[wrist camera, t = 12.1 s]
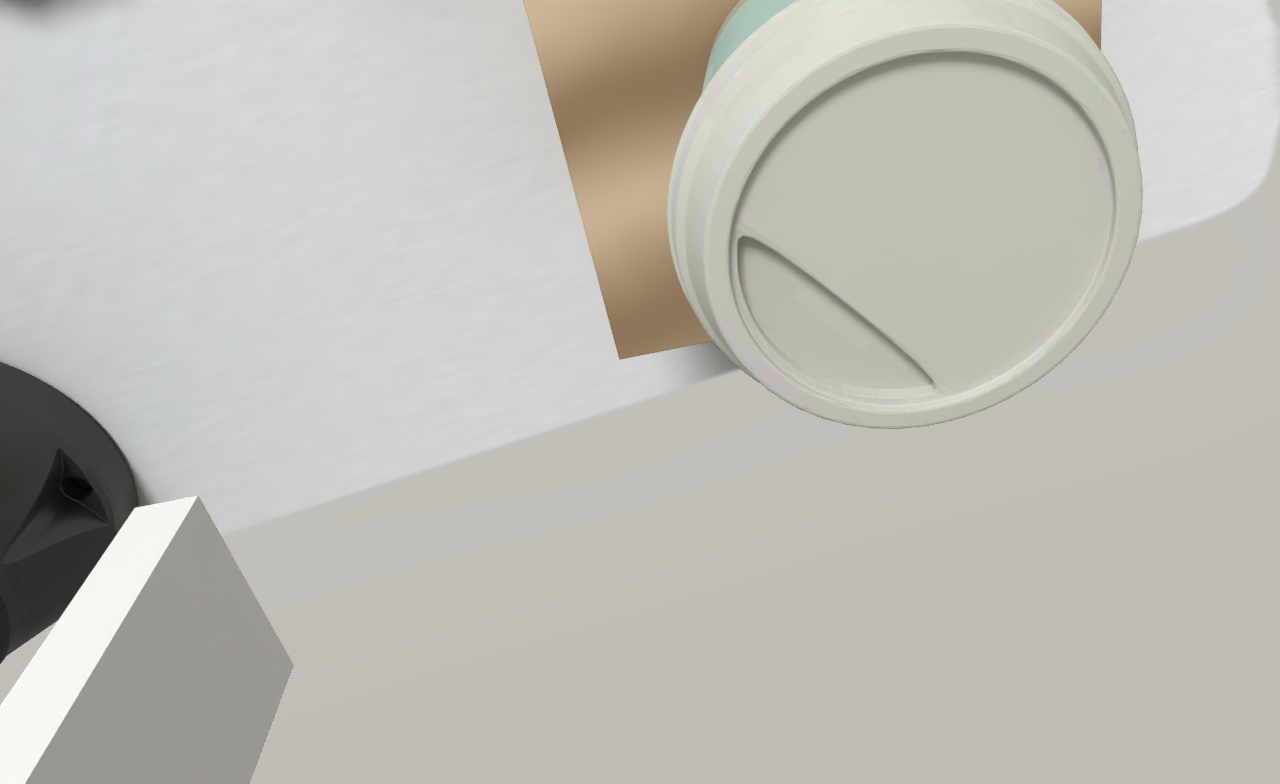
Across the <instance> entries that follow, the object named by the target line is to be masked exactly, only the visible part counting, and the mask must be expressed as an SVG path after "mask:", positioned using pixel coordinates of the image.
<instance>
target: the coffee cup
mask: <svg viewBox="0 0 1280 784" xmlns="http://www.w3.org/2000/svg"><path fill="white" fill-rule="evenodd" d="M1142 194H1143V191H1142V175H1141V168H1140V162H1139V156H1138V146H1137V139H1136V132H1135V126H1134V121H1133V117H1132V114H1131V110H1130V107H1129V103H1128V101H1127V98H1126V96H1125V93H1124V91H1123V89H1122V86H1121V84H1120V82H1119V80H1118V78H1117V76H1116V74H1115V72H1114V70H1113V69H1112V67H1111V65H1110V64H1109V63H1108V61H1107V60H1106V58H1105V57H1104V55H1103V54H1102V52H1101V51H1100V50H1099V48H1098V47H1097V45H1096V44H1095V42H1094V41H1093V40H1092V38H1091V37H1090V36H1089V35H1088V33H1087V32H1086V31H1085V30H1084V29H1083V28H1082V26H1081V25H1080V24H1079V23H1078V22H1077V21H1076V20H1075V19H1074V18H1073V17H1072V16H1071V15H1070V14H1068V13H1067V12H1066V11H1065V10H1064V9H1063V8H1061V7H1060V6H1059V5H1058V4H1056V3H1055V2H1054V1H1052V0H740V1H739V2H738V3H737V4H736V5H735V7H734V8H733V9H732V10H731V12H730V13H729V14H728V16H727V17H726V19H725V21H724V22H723V24H722V26H721V28H720V29H719V31H718V34H717V36H716V38H715V41H714V43H713V46H712V50H711V53H710V57H709V62H708V66H707V70H706V75H705V80H704V85H703V90H702V95H701V96H700V98H699V100H698V102H697V103H696V105H695V107H694V109H693V111H692V113H691V115H690V117H689V119H688V121H687V124H686V126H685V128H684V131H683V133H682V136H681V139H680V142H679V145H678V148H677V151H676V155H675V158H674V162H673V166H672V171H671V176H670V183H669V191H668V204H667V222H668V235H669V243H670V249H671V254H672V258H673V262H674V266H675V269H676V272H677V276H678V278H679V281H680V284H681V286H682V289H683V291H684V293H685V295H686V297H687V299H688V301H689V303H690V305H691V307H692V308H693V310H694V312H695V314H696V316H697V317H698V319H699V321H700V322H701V324H702V326H703V327H704V329H705V330H706V332H707V333H708V335H709V336H710V338H711V339H712V340H713V341H714V342H715V344H716V345H717V346H718V347H719V349H720V350H721V351H722V352H723V353H724V354H725V355H726V356H727V357H728V358H729V359H730V360H731V361H732V362H733V363H734V364H736V365H737V366H738V367H739V368H740V369H741V370H743V371H744V372H745V373H746V374H748V375H749V376H751V377H752V378H753V379H755V380H756V381H758V382H759V383H761V384H762V385H763V386H765V387H766V388H767V389H768V390H769V391H771V392H772V393H774V394H775V395H777V396H778V397H780V398H781V399H783V400H784V401H786V402H788V403H790V404H792V405H793V406H795V407H797V408H799V409H801V410H803V411H806V412H808V413H811V414H813V415H816V416H818V417H821V418H824V419H828V420H831V421H835V422H839V423H843V424H847V425H853V426H861V427H868V428H888V429H889V428H890V429H891V428H892V429H898V428H899V429H900V428H910V427H921V426H928V425H933V424H938V423H944V422H948V421H951V420H955V419H958V418H962V417H965V416H968V415H971V414H974V413H977V412H979V411H982V410H985V409H987V408H989V407H992V406H993V405H996V404H998V403H1000V402H1002V401H1004V400H1006V399H1009V398H1010V397H1012V396H1014V395H1016V394H1017V393H1019V392H1020V391H1022V390H1024V389H1025V388H1027V387H1029V386H1030V385H1032V384H1033V383H1035V382H1036V381H1038V380H1039V379H1040V378H1042V377H1043V376H1045V375H1046V374H1047V373H1049V371H1051V370H1052V369H1053V368H1054V367H1056V366H1057V365H1058V364H1059V363H1061V362H1062V361H1063V360H1064V359H1065V358H1066V357H1067V356H1068V355H1069V354H1070V353H1071V352H1072V351H1073V350H1074V349H1075V348H1076V347H1077V346H1078V345H1079V344H1080V343H1081V342H1082V341H1083V340H1084V339H1085V337H1086V336H1087V335H1088V334H1089V333H1090V331H1091V330H1092V329H1093V328H1094V327H1095V325H1096V324H1097V323H1098V321H1099V320H1100V318H1101V317H1102V315H1103V314H1104V312H1105V311H1106V309H1107V308H1108V307H1109V305H1110V304H1111V302H1112V300H1113V298H1114V296H1115V294H1116V293H1117V291H1118V289H1119V287H1120V285H1121V283H1122V281H1123V279H1124V276H1125V273H1126V271H1127V269H1128V267H1129V264H1130V262H1131V258H1132V255H1133V252H1134V248H1135V245H1136V242H1137V238H1138V233H1139V226H1140V220H1141V214H1142Z"/></svg>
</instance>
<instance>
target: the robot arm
mask: <svg viewBox="0 0 1280 784" xmlns="http://www.w3.org/2000/svg"><path fill="white" fill-rule="evenodd" d="M57 620H58V621H57ZM56 621H57V623H56V624H55V626H54V627H53V629H52V630H51V632H50V633H49V635H48V636H47V638H46V639H45V641H44V642H43V644H42V645H41V646H40V648H39V649H38V651H37V653H36V654H35V655H34V657H33V658H32V660H31V661H30V663H29V664H28V666H27V667H26V669H25V670H24V671H23V673H22V674H21V676H20V677H19V679H18V680H17V682H16V683H15V685H14V686H13V688H12V689H11V691H10V692H9V693H8V695H7V696H6V698H5V699H4V701H3V702H2V704H1V705H0V784H249V783H250V780H251V777H252V775H253V772H254V770H255V766H256V764H257V761H258V759H259V756H260V753H261V751H262V748H263V745H264V743H265V740H266V737H267V735H268V732H269V729H270V727H271V724H272V721H273V719H274V716H275V713H276V711H277V708H278V705H279V702H280V700H281V697H282V694H283V692H284V689H285V686H286V684H287V681H288V678H289V676H290V673H291V670H292V668H293V663H292V661H291V660H290V658H289V656H288V654H287V652H286V651H285V649H284V647H283V645H282V643H281V642H280V640H279V638H278V636H277V635H276V633H275V631H274V629H273V628H272V626H271V624H270V622H269V621H268V619H267V617H266V615H265V613H264V612H263V610H262V608H261V606H260V604H259V603H258V601H257V599H256V598H255V596H254V594H253V592H252V590H251V588H250V587H249V585H248V583H247V581H246V580H245V578H244V576H243V574H242V572H241V571H240V569H239V568H238V565H237V564H236V562H235V560H234V558H233V556H232V555H231V553H230V551H229V549H228V548H227V546H226V544H225V542H224V540H223V539H222V537H221V535H220V533H219V532H218V530H217V528H216V526H215V524H214V523H213V521H212V519H211V517H210V516H209V514H208V512H207V510H206V509H205V507H204V505H203V503H202V501H201V500H200V498H199V496H193V497H188V498H183V499H178V500H173V501H167V502H162V503H157V504H152V505H146V506H141V507H138V503H137V496H136V491H135V487H134V484H133V481H132V478H131V475H130V473H129V470H128V468H127V466H126V464H125V462H124V460H123V458H122V456H121V455H120V453H119V452H118V450H117V448H116V447H115V445H114V444H113V443H112V441H111V440H110V439H109V437H108V436H107V435H106V434H105V432H104V431H103V430H102V429H101V428H100V427H99V426H98V425H97V423H96V422H95V421H94V420H93V419H92V418H91V417H90V416H88V415H87V414H86V413H85V412H84V411H83V410H82V409H81V408H80V407H78V406H77V405H76V404H75V403H73V402H72V401H71V400H70V399H68V398H67V397H66V396H64V395H63V394H61V393H60V392H58V391H57V390H55V389H54V388H52V387H51V386H49V385H47V384H46V383H44V382H42V381H41V380H39V379H37V378H35V377H33V376H31V375H29V374H27V373H25V372H23V371H21V370H19V369H16V368H14V367H12V366H9V365H7V364H4V363H1V362H0V664H1V662H2V661H3V660H4V659H5V657H6V656H7V655H8V654H10V653H11V652H13V651H14V650H15V649H17V648H18V647H20V646H21V645H23V644H24V643H26V642H27V641H29V640H30V639H31V638H33V637H34V636H36V635H37V634H39V633H40V632H41V631H43V630H44V629H46V628H47V627H48V626H50V625H52V624H53V623H54V622H56Z"/></svg>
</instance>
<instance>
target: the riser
mask: <svg viewBox="0 0 1280 784" xmlns="http://www.w3.org/2000/svg"><path fill="white" fill-rule="evenodd" d="M523 1H524V5H525V9H526V13H527V16H528V20H529V24H530V27H531V31H532V35H533V39H534V42H535V46H536V50H537V54H538V57H539V61H540V65H541V69H542V72H543V76H544V80H545V83H546V87H547V91H548V95H549V98H550V102H551V106H552V110H553V113H554V117H555V121H556V124H557V128H558V132H559V136H560V139H561V143H562V147H563V151H564V154H565V158H566V162H567V166H568V169H569V173H570V177H571V180H572V184H573V188H574V192H575V195H576V199H577V203H578V207H579V210H580V214H581V218H582V221H583V225H584V229H585V233H586V236H587V240H588V244H589V248H590V251H591V255H592V259H593V263H594V266H595V270H596V274H597V277H598V281H599V285H600V289H601V292H602V296H603V300H604V304H605V307H606V311H607V315H608V318H609V322H610V326H611V330H612V333H613V337H614V341H615V345H616V348H617V352H618V356H619V360H620V359H625V358H630V357H635V356H640V355H645V354H650V353H655V352H660V351H665V350H670V349H676V348H681V347H686V346H691V345H696V344H701V343H706V342H711V341H713V340H712V339H711V338H710V336H709V335H708V333H707V332H706V330H705V329H704V327H703V326H702V324H701V322H700V321H699V319H698V317H697V316H696V314H695V312H694V310H693V308H692V307H691V305H690V303H689V301H688V299H687V297H686V295H685V293H684V291H683V289H682V286H681V284H680V281H679V278H678V276H677V272H676V269H675V266H674V262H673V258H672V254H671V249H670V243H669V235H668V222H667V204H668V191H669V183H670V176H671V171H672V166H673V162H674V158H675V155H676V151H677V148H678V145H679V142H680V139H681V136H682V133H683V131H684V128H685V126H686V124H687V121H688V119H689V117H690V115H691V113H692V111H693V109H694V107H695V105H696V103H697V102H698V100H699V98H700V96H701V95H702V90H703V85H704V80H705V75H706V70H707V66H708V62H709V57H710V53H711V50H712V46H713V43H714V41H715V38H716V36H717V34H718V31H719V29H720V28H721V26H722V24H723V22H724V21H725V19H726V17H727V16H728V14H729V13H730V12H731V10H732V9H733V8H734V7H735V5H736V4H737V3H738V2H739V1H740V0H523ZM1052 1H1054V2H1055V3H1056V4H1058V5H1059V6H1060V7H1061V8H1063V9H1064V10H1065V11H1066V12H1067V13H1068V14H1070V15H1071V16H1072V17H1073V18H1074V19H1075V20H1076V21H1077V22H1078V23H1079V24H1080V25H1081V26H1082V28H1083V29H1084V30H1085V31H1086V32H1087V33H1088V35H1089V36H1090V37H1091V38H1092V40H1093V41H1094V42H1095V44H1096V45H1097V47H1098V48H1099V50H1100V51H1101V10H1102V0H1052Z"/></svg>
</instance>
